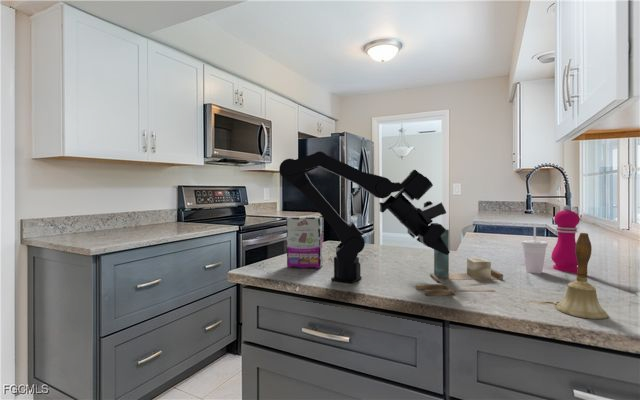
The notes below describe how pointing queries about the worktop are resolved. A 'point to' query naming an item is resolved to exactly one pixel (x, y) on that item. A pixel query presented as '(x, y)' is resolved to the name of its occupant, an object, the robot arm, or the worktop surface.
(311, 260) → the candy bar box
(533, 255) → the smoothie
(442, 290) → the broken lane
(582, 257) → the hand bell
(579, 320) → the worktop surface
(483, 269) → the maple block
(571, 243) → the pepper mill
